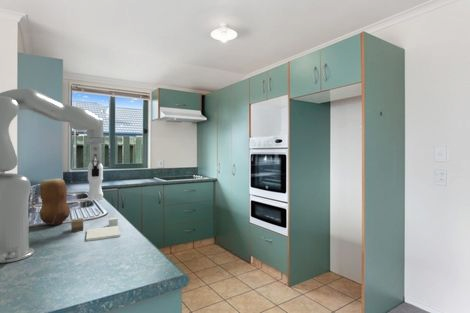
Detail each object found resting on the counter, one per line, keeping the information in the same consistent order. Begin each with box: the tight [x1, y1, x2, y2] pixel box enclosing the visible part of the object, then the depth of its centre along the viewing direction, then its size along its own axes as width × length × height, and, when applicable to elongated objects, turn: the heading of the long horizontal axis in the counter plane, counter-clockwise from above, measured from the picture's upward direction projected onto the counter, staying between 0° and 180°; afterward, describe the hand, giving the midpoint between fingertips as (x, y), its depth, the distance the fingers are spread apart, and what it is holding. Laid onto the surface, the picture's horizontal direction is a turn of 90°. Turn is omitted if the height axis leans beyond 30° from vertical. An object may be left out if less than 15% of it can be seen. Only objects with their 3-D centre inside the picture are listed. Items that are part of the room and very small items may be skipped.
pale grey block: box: [108, 217, 119, 227], centre depth 144 cm, size 4×4×4 cm
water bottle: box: [87, 159, 104, 202], centre depth 139 cm, size 7×7×25 cm
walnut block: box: [70, 218, 84, 233], centre depth 136 cm, size 5×5×5 cm
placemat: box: [85, 225, 121, 242], centre depth 130 cm, size 16×14×1 cm
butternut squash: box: [39, 178, 71, 226], centre depth 146 cm, size 14×13×25 cm
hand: (95, 175), depth 139 cm, fingers closed on water bottle, 7 cm apart
